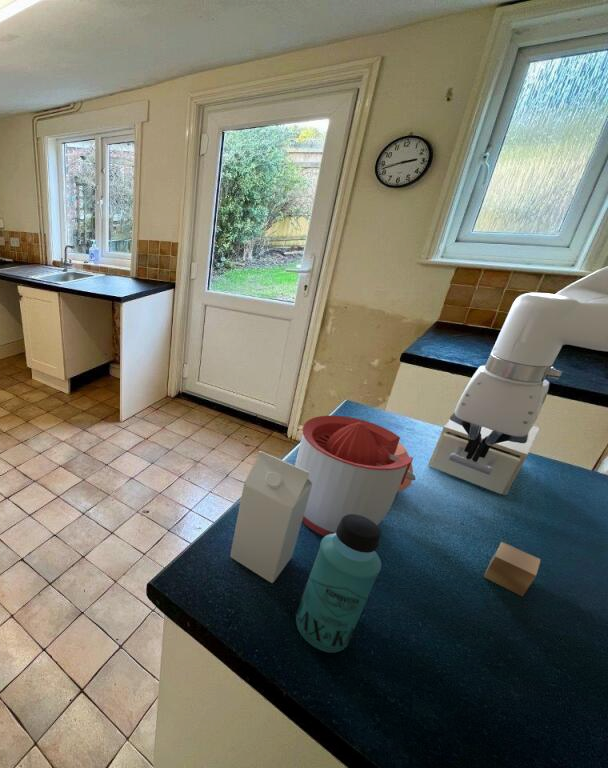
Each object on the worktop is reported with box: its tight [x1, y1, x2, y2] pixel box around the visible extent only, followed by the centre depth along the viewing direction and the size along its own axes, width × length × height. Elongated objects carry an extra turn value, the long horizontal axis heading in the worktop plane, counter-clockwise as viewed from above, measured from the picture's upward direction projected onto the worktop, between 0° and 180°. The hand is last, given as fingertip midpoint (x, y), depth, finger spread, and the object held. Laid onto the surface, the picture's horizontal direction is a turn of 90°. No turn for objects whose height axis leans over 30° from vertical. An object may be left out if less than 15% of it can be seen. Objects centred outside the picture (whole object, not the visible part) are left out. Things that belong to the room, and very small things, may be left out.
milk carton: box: [229, 450, 312, 584], centre depth 63 cm, size 7×7×19 cm
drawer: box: [429, 433, 520, 495], centre depth 83 cm, size 19×11×8 cm, turn 130°
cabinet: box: [427, 419, 541, 496], centre depth 86 cm, size 15×13×10 cm
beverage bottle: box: [295, 514, 382, 654], centre depth 51 cm, size 6×7×20 cm
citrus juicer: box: [294, 415, 416, 537], centre depth 70 cm, size 16×17×20 cm
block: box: [483, 541, 542, 597], centre depth 62 cm, size 4×4×4 cm
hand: (472, 457), depth 78 cm, fingers closed
